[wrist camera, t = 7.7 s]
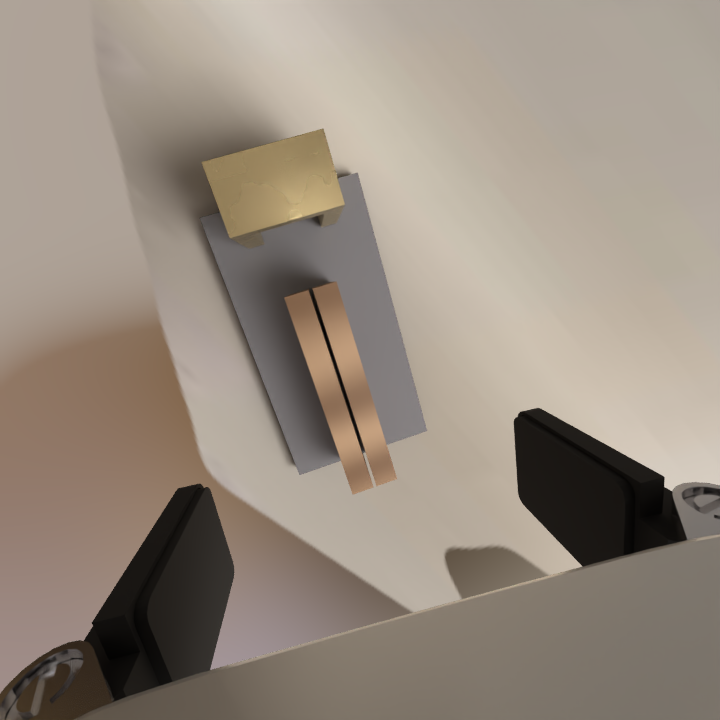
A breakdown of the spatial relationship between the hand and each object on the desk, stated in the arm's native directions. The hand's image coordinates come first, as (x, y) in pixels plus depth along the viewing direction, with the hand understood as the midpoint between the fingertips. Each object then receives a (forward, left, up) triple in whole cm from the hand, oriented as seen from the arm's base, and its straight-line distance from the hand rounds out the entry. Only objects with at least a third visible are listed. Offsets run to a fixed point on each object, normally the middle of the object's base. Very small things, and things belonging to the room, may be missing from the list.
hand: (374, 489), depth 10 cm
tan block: (-12, 0, -19) cm, 22 cm away
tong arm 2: (+2, -1, -19) cm, 19 cm away
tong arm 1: (+2, +1, -18) cm, 19 cm away
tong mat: (-2, 0, -20) cm, 20 cm away
